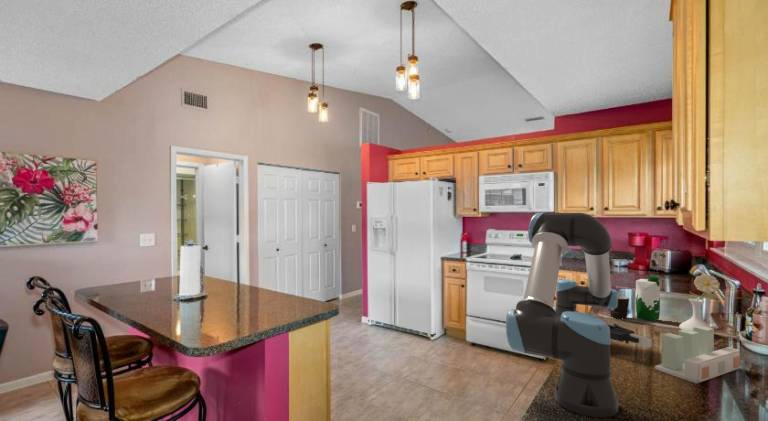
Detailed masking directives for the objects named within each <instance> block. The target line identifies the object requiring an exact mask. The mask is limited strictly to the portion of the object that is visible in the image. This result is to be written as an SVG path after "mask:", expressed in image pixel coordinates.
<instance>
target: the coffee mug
mask: <svg viewBox="0 0 768 421" xmlns="http://www.w3.org/2000/svg"><path fill="white" fill-rule="evenodd" d="M629 304H630V296H625V295H622V294H618V305H617V308H614V309H613V308H609V314H610V318H611V317H613V318H612V319H614V318H616V319H615V320H619V319H622V318H623V319H626V318H628V312H629V310H628V309H629ZM626 320H627V319H626Z"/></svg>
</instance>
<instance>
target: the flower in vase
mask: <svg viewBox="0 0 768 421" xmlns="http://www.w3.org/2000/svg"><path fill="white" fill-rule="evenodd" d="M693 285H695V288H696V289H697V290H699V291H701V292H703V293H702V294H701V296H699V295H698V294H696V293H693V292H692V291H688V292H689V294H691V295H693V296H696V297H698V298H688V300H689V302H690V303H691V306H692V315H691V317H690V318H689V319H687V320H685V321H682V322H681V323H680V324H679V325H678V327H679V329H680V330H683V329H687V330H690V331H693V327H696V326H704V327H708V328H712V329H714V328H713V327H712V326H711V325H709V324H708V323H706V322H705V321H704V320H703V319H702V317H701V307H702V305H703V303H704V302H705V300H703V299H701V298H702V297H703V296H704V297H705V298H706V299H709V300H712V299H713V300H714V299H718V297H717V296H716V295H715V294H713V293H714V292H718V290H719V288H720V286H721V284H720V282H719V280H718V279H717V278H716V277H715V276H712V275H711V274H707V273H705V274H700V275H697V276H696V277H695V279H694V281H693Z"/></svg>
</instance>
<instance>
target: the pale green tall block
mask: <svg viewBox="0 0 768 421" xmlns="http://www.w3.org/2000/svg"><path fill="white" fill-rule="evenodd" d="M661 364H662V366H665V367H668V368H671V369H674V370H678V369H681V368H683V337H682V336H679V335H678V334H675V333H671V332H668V333H667V332H666V333H663V334H661Z"/></svg>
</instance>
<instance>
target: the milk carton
mask: <svg viewBox="0 0 768 421" xmlns="http://www.w3.org/2000/svg"><path fill="white" fill-rule="evenodd" d="M635 312H636V319H639V320H645V321H649V322H654V323H655V322H657V321H658V320H660V315H661V314H660V313H661V280H659V276H655V275H654V276H653V275H648V276H647V278H646V279H645V278H639V279H637V280H635Z"/></svg>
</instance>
